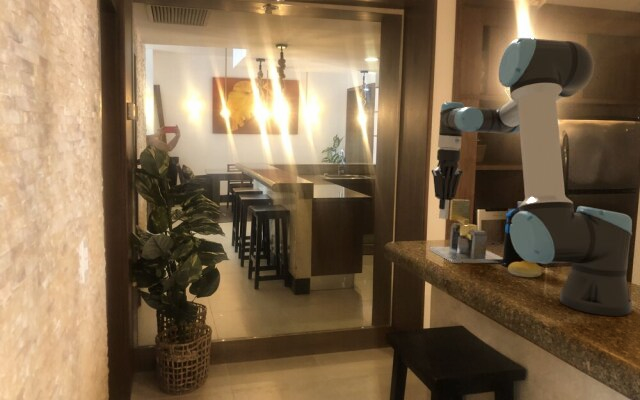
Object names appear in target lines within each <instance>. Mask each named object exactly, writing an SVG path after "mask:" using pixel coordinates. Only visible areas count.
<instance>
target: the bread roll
mask: <svg viewBox="0 0 640 400" xmlns="http://www.w3.org/2000/svg"><path fill="white" fill-rule="evenodd" d="M507 271H508V273H510V275H512V276H516V277H521V278H536V277H537V278H538V277H540V276H541V275H542V269H541V267H540V265H539V264H538V263H533V262H528V261H526V260H524V261H521V262H513V263H511V264H510V265H509V266H508V267H507Z"/></svg>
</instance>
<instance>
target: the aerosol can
mask: <svg viewBox="0 0 640 400" xmlns="http://www.w3.org/2000/svg"><path fill="white" fill-rule="evenodd" d="M522 202H523V201H517V205H516V206H517V208H514V209H511V210H509V211H508V212H507V213H506V214H505V216H506V218H505V219H506V220H505V228H504V229H505V231H504V239H503V240H504V242H503V253H502V258H503V262H502V263H501V266H503V267H505V268H508V266H509V265H510V264H511V263H513V262H521V261H524V259H522V258H521V257H520V255H519V254H518V253H517V252H516V250H515V248H514V246H513V244H512V240H511V236H510V225H511V224H512V222H511V221H512V218H513V217H514V215H515V214H517V213H518V212H519V206H520V205H521V203H522Z"/></svg>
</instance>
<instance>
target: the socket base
mask: <svg viewBox="0 0 640 400" xmlns="http://www.w3.org/2000/svg"><path fill="white" fill-rule="evenodd" d="M460 224H462V223H460V222H458V223H456V222H454V223H451V226H450V234H449V235H450V236H449V246H430V248H429V251H430V252H433V253H434V254H435V253H436V254H435V255H437V254H438V255H437V256H439V255H440V256H439V257H441V256H442V257H441V258H442V259H444V258H445V260H446V259H447V260H446V261H448V260H449V261H448V262H450V261H451V262H452V263H451V262H450V263H451V264H502V262H503V256H500V255H497V254H496V253H494V252H491V251H490V250H489V251H488V250H487V242H488V235H487V232H486V231H485V230H480V229H479V230H470V234H472V235H473V239H472V240H470V239H469V238H464V237H460V233H458V228H460ZM462 262H463V263H462Z"/></svg>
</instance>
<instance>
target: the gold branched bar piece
mask: <svg viewBox="0 0 640 400" xmlns="http://www.w3.org/2000/svg"><path fill="white" fill-rule="evenodd" d="M470 201H471V200H470V199H454V198H453V200H450V207H449V211H450V212H449V220H450V221H457V222H458V223H462V224H460V228H458V233H460V237H464V238H469V239H470V240H472V239H473V235H472V234H470V230H477V228H478V225H476V224H472V223H470V219H469V215H470V205H471V203H470Z"/></svg>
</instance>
